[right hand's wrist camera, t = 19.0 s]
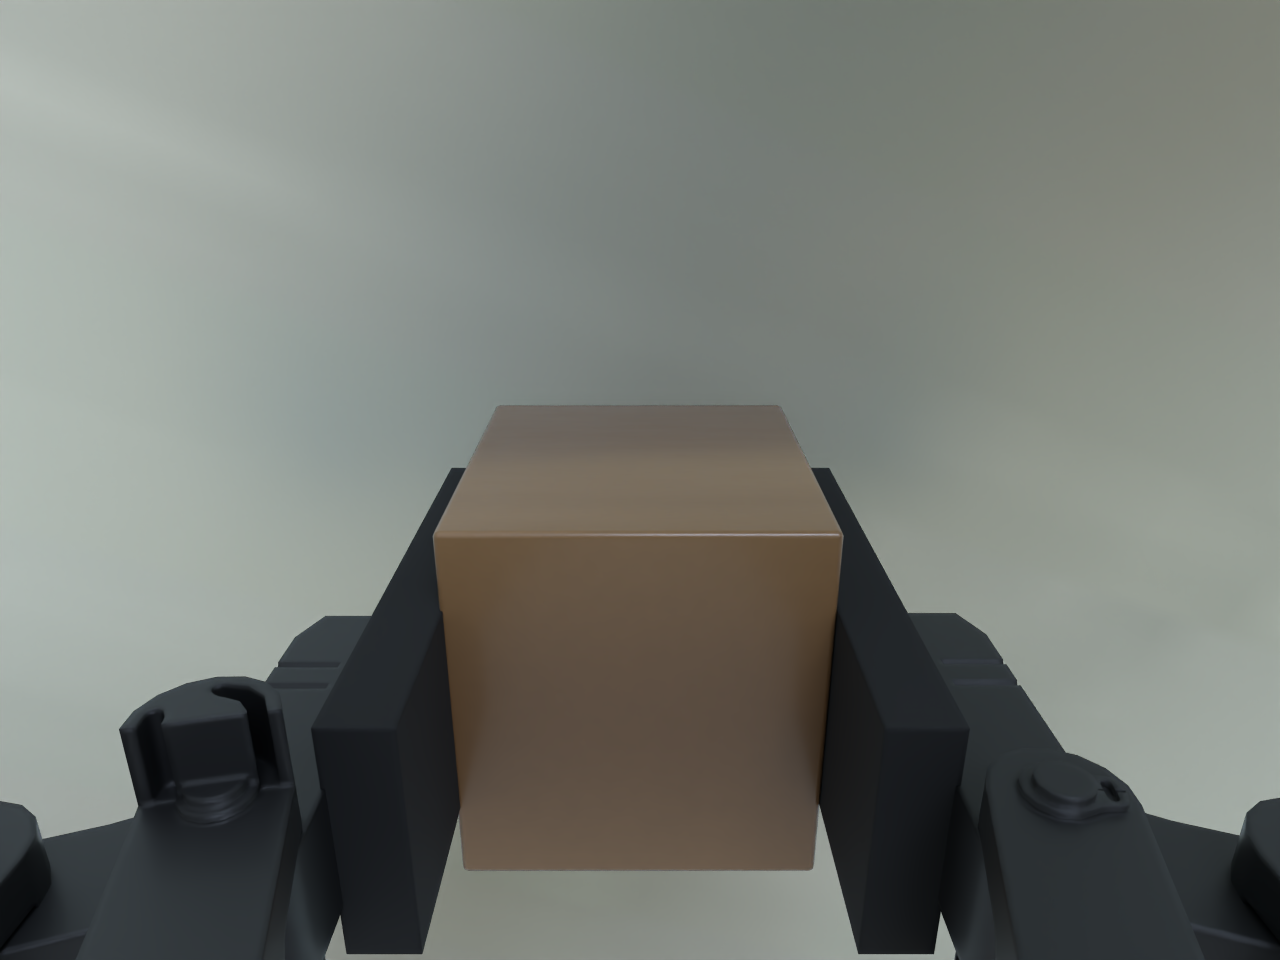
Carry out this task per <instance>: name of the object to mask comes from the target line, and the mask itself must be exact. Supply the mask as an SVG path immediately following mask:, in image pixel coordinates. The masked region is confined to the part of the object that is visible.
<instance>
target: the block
mask: <svg viewBox="0 0 1280 960" xmlns="http://www.w3.org/2000/svg"><path fill="white" fill-rule="evenodd" d="M843 537H844V536H843V533H842V531H841V529H840V527H839V525H838V523H837V521H836V519H835V517H834V515H833V513H832V511H831V509H830V507H829V504H828V502H827V500H826V498H825V496H824V494H823V492H822V490H821V488H820V486H819V484H818V482H817V480H816V478H815V476H814V474H813V472H812V470H811V468H810V466H809V464H808V462H807V460H806V457H805V455H804V453H803V451H802V449H801V447H800V445H799V443H798V441H797V439H796V437H795V435H794V433H793V431H792V429H791V427H790V425H789V423H788V421H787V419H786V417H785V415H784V412H783V410H782V408H781V407H780V406H777V405H748V406H498V407H496V409H495V411H494V413H493V415H492V417H491V419H490V421H489V423H488V425H487V427H486V429H485V431H484V433H483V435H482V437H481V439H480V441H479V443H478V445H477V447H476V449H475V451H474V454H473V456H472V458H471V460H470V462H469V464H468V466H467V468H466V470H465V472H464V474H463V476H462V478H461V480H460V482H459V484H458V486H457V488H456V490H455V492H454V494H453V496H452V498H451V500H450V502H449V504H448V506H447V508H446V510H445V512H444V514H443V516H442V518H441V520H440V522H439V524H438V526H437V528H436V530H435V532H434V534H433V544H434V555H435V565H436V576H437V587H438V598H439V609H440V611H442V612H443V623H444V634H445V645H446V655H447V666H448V677H449V688H450V699H451V710H452V721H453V732H454V743H455V754H456V765H457V776H458V787H459V798H460V811H459V825H460V835H461V846H462V857H463V865H464V868H465V869H466V870H468V871H701V870H811V869H812V868H813V865H814V857H815V846H816V835H817V824H818V813H819V802H820V791H821V780H822V769H823V758H824V747H825V736H826V725H827V713H828V702H829V691H830V680H831V669H832V658H833V647H834V636H835V625H836V614H837V603H838V592H839V581H840V570H841V559H842V548H843Z"/></svg>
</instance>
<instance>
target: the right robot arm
mask: <svg viewBox="0 0 1280 960" xmlns="http://www.w3.org/2000/svg"><path fill="white" fill-rule="evenodd" d="M465 470H466V468H451V470H450V472H449V474H448V476H447V478H446V479H445V481H444V483H443V485H442V487H441V489H440V491H439V492H438V494H437V496H436V498H435V500H434V502H433V503H432V505H431V507H430V509H429V511H428V513H427V515H426V516H425V518H424V520H423V522H422V524H421V526H420V527H419V529H418V531H417V533H416V535H415V537H414V539H413V540H412V542H411V544H410V546H409V548H408V550H407V552H406V553H405V555H404V557H403V559H402V561H401V563H400V564H399V566H398V568H397V570H396V572H395V574H394V576H393V577H392V579H391V581H390V583H389V585H388V587H387V588H386V590H385V592H384V594H383V596H382V598H381V600H380V601H379V603H378V605H377V607H376V609H375V611H374V612H373V614H372V616H325V617H323V618H322V619H321V620H319V621H318V622H316V623H315V624H313V625H312V626H311V627H309V628H308V629H306V630H305V631H303V632H302V633H301V634H299V635H298V636H296V637H295V638H294V640H293V641H292V643H291V644H290V646H289V647H288V649H287V650H286V652H285V653H284V655H283V656H282V658H281V659H280V661H279V662H278V667H275V668H274V670H273V671H272V673H271V674H270V676H269V677H268V679H267V680H266V682H264V681H260V680H256V679H252V678H249V677H214V678H210V679H205V680H200V681H195V682H191V683H186V684H184V685H181V686H179V687H177V688H174V689H172V690H169V691H167V692H164V693H162V694H159V695H157V696H156V697H154V698H153V699H151V700H150V701H148V702H147V703H145V704H144V705H142V706H141V707H139V708H138V709H136V710H135V711H133V713H132V714H131V715H130V716H129V718H128V719H127V720H126V721H125V723H124V724H123V725H122V726H121V727H120V729H119V731H120V735H121V739H122V743H123V747H124V751H125V755H126V759H127V763H128V767H129V771H130V775H131V779H132V783H133V787H134V791H135V795H136V798H137V802H138V809H137V811H136V813H135V816H134V818H131V819H127V820H124V821H120V822H117V823H113V824H110V825H105V826H101V827H96V828H91V829H87V830H82V831H78V832H73V833H69V834H64V835H59V836H55V837H50V838H46V839H42V837H41V833H40V830H39V827H38V823H37V820H36V817H35V816H34V815H33V814H32V813H31V812H29V811H28V810H27V809H26V808H25V807H24V806H22V805H19V804H13V803H7V802H2V801H0V960H325V954H326V951H327V948H328V946H329V943H330V940H331V938H332V935H333V932H334V930H335V927H336V925H337V922H338V919H339V917H340V915H341V921H342V928H343V934H344V940H345V946H346V953H347V954H422V953H423V949H424V945H425V942H426V938H427V934H428V930H429V926H430V922H431V919H432V915H433V911H434V907H435V903H436V899H437V896H438V892H439V888H440V884H441V880H442V876H443V873H444V869H445V865H446V861H447V857H448V853H449V850H450V846H451V842H452V838H453V834H454V830H455V827H456V823H457V819H458V815H459V811H460V798H459V787H458V776H457V765H456V754H455V743H454V732H453V721H452V710H451V699H450V688H449V677H448V666H447V655H446V645H445V634H444V623H443V612H442V611H440V609H439V598H438V587H437V576H436V565H435V555H434V544H433V534H434V532H435V530H436V528H437V526H438V524H439V522H440V520H441V518H442V516H443V514H444V512H445V510H446V508H447V506H448V504H449V502H450V500H451V498H452V496H453V494H454V492H455V490H456V488H457V486H458V484H459V482H460V480H461V478H462V476H463V474H464V472H465ZM811 470H812V472H813V474H814V476H815V478H816V480H817V482H818V484H819V486H820V488H821V490H822V492H823V494H824V496H825V498H826V500H827V502H828V504H829V507H830V509H831V511H832V513H833V515H834V517H835V519H836V521H837V523H838V525H839V527H840V529H841V531H842V533H843V536H844V537H843V548H842V559H841V570H840V581H839V592H838V603H837V614H836V625H835V636H834V647H833V658H832V669H831V680H830V691H829V702H828V713H827V725H826V736H825V747H824V758H823V769H822V780H821V791H820V802H819V805H820V809H821V813H822V816H823V820H824V824H825V828H826V832H827V836H828V839H829V843H830V847H831V851H832V855H833V859H834V862H835V866H836V870H837V874H838V878H839V882H840V885H841V889H842V893H843V897H844V901H845V905H846V908H847V912H848V916H849V920H850V924H851V928H852V931H853V935H854V939H855V943H856V947H857V950H858V954H934V951H935V944H936V938H937V932H938V926H939V919H940V913H942V916H943V918H944V921H945V923H946V926H947V929H948V931H949V934H950V937H951V939H952V942H953V944H954V947H955V950H956V954H955V960H1280V798H1276V799H1270V800H1264V801H1260V802H1259V803H1258V804H1256V805H1255V806H1254V807H1253V808H1252V809H1251V810H1249V811H1248V812H1247V813H1246V817H1245V820H1244V823H1243V826H1242V830H1241V833H1240V836H1239V835H1234V834H1230V833H1225V832H1221V831H1216V830H1211V829H1207V828H1202V827H1198V826H1193V825H1188V824H1184V823H1179V822H1175V821H1171V820H1167V819H1164V818H1160V817H1157V816H1153V815H1150V814H1146V813H1145V812H1144V809H1143V807H1142V805H1141V803H1140V802H1139V801H1138V799H1137V798H1136V796H1135V795H1134V793H1133V792H1132V790H1131V789H1130V788H1129V786H1128V785H1127V784H1125V783H1124V782H1123V781H1121V780H1120V779H1119V778H1118V777H1116V776H1115V775H1114V774H1112V773H1111V772H1110V771H1108V770H1107V769H1106V768H1104V767H1102V766H1100V765H1097V764H1095V763H1093V762H1091V761H1089V760H1087V759H1084V758H1082V757H1080V756H1078V755H1074V754H1070V753H1066V752H1065V751H1064V749H1063V748H1062V747H1061V745H1060V744H1059V742H1058V741H1057V739H1056V738H1055V736H1054V735H1053V733H1052V732H1051V730H1050V729H1049V727H1048V726H1047V724H1046V723H1045V721H1044V720H1043V718H1042V717H1041V715H1040V714H1039V712H1038V711H1037V709H1036V708H1035V706H1034V705H1033V703H1032V702H1031V700H1030V699H1029V697H1028V696H1027V694H1026V693H1025V691H1024V690H1023V688H1022V687H1021V686H1020V685H1017V680H1016V678H1015V677H1014V675H1013V674H1012V672H1011V671H1010V669H1009V668H1008V666H1007V665H1006V664H1003V659H1002V657H1001V656H1000V654H999V653H998V651H997V650H996V648H995V647H994V645H993V644H992V642H991V641H990V639H989V638H988V636H987V635H986V634H985V633H983V632H982V631H980V630H979V629H978V628H976V627H975V626H973V625H972V624H970V623H969V622H967V621H966V620H965V619H963V618H962V617H960V616H959V615H957V614H956V613H907V611H906V609H905V607H904V606H903V604H902V602H901V600H900V598H899V596H898V595H897V593H896V591H895V589H894V587H893V585H892V583H891V582H890V580H889V578H888V576H887V574H886V572H885V571H884V569H883V567H882V565H881V563H880V561H879V559H878V558H877V556H876V554H875V552H874V550H873V548H872V547H871V545H870V543H869V541H868V539H867V537H866V535H865V534H864V532H863V530H862V528H861V526H860V524H859V523H858V521H857V519H856V517H855V515H854V513H853V511H852V510H851V508H850V506H849V504H848V502H847V500H846V499H845V497H844V495H843V493H842V491H841V489H840V487H839V486H838V484H837V482H836V480H835V478H834V476H833V475H832V473H831V471H830V469H829V468H811Z"/></svg>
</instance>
